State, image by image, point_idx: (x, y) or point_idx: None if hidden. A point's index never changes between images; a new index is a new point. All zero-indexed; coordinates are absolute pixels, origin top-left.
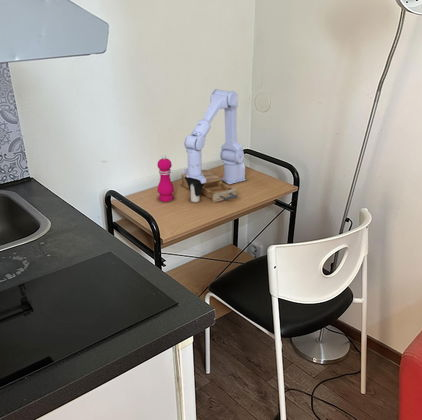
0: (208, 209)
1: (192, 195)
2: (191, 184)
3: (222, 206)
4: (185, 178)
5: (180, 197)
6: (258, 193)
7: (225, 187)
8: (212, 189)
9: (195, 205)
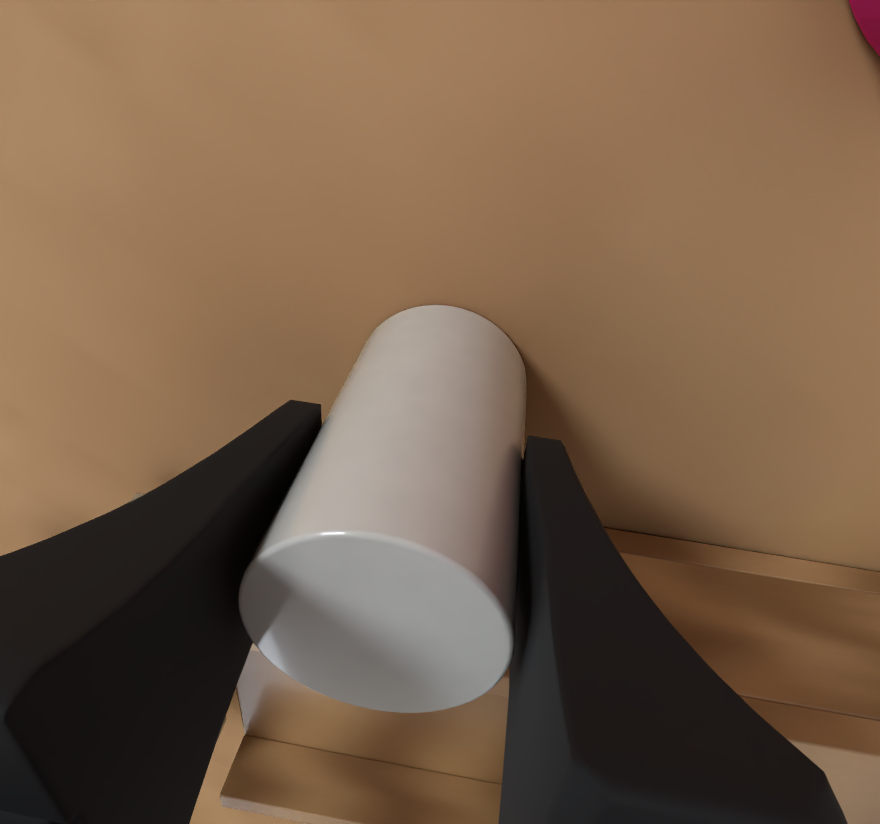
0: (8, 310)
1: (383, 373)
2: (484, 614)
3: (53, 497)
4: (716, 779)
5: (766, 253)
6: (217, 811)
7: (328, 793)
8: (462, 705)
9: (240, 244)
